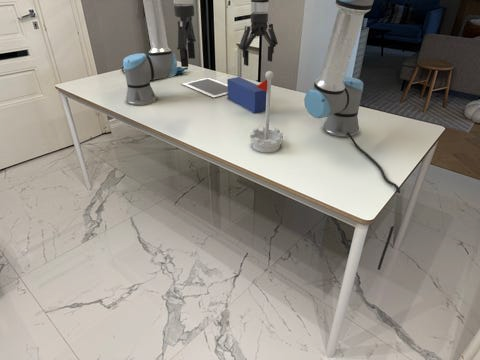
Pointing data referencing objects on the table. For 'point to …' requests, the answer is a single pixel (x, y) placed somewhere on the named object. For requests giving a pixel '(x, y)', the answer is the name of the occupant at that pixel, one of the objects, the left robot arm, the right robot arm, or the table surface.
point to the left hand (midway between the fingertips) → (188, 62)
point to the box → (246, 94)
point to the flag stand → (266, 124)
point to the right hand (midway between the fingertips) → (258, 63)
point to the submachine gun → (180, 70)
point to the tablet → (208, 87)
